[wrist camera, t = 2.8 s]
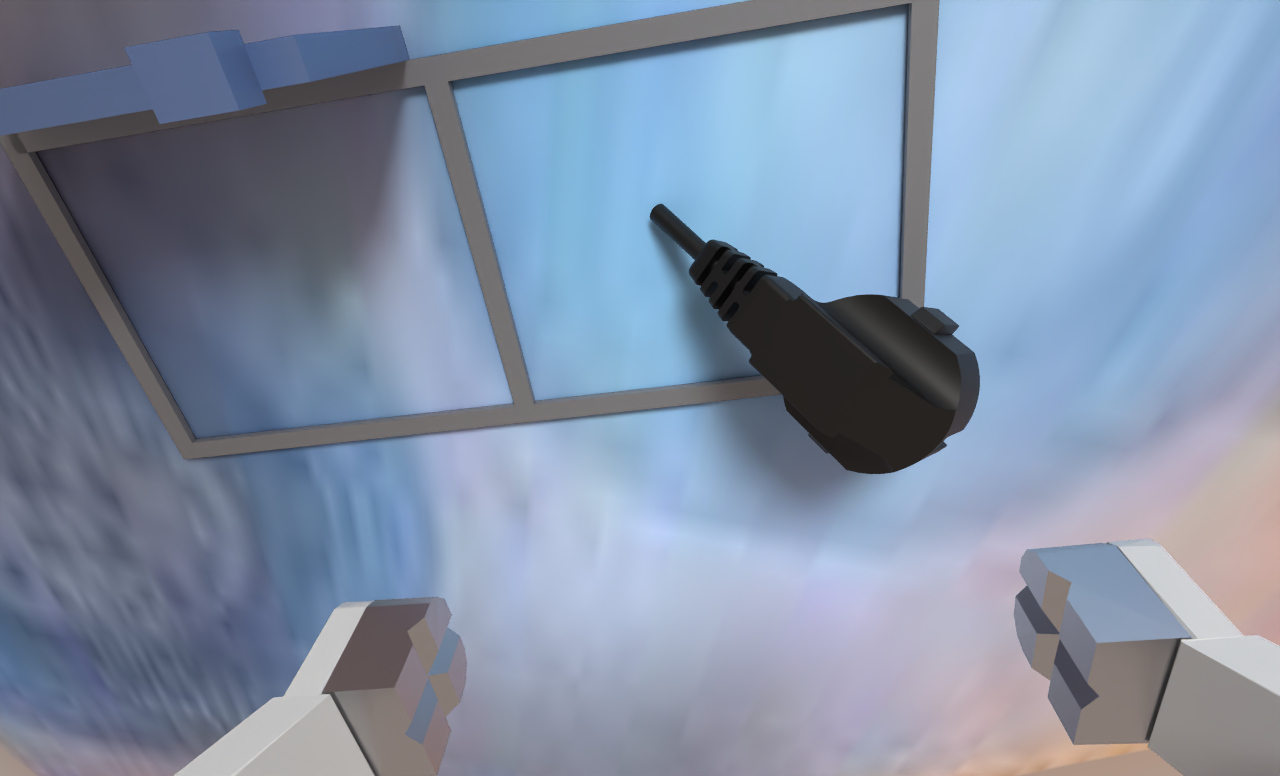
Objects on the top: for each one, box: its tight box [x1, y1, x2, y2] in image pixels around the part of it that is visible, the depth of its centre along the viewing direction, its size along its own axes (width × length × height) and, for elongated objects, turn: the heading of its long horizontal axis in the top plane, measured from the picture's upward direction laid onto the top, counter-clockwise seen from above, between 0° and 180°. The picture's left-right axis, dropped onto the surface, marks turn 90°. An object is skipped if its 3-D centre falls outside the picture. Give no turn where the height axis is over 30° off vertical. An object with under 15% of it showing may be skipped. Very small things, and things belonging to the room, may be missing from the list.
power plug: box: [650, 204, 980, 474], centre depth 24 cm, size 6×8×12 cm
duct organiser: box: [0, 0, 939, 459], centre depth 22 cm, size 15×32×8 cm, turn 99°
